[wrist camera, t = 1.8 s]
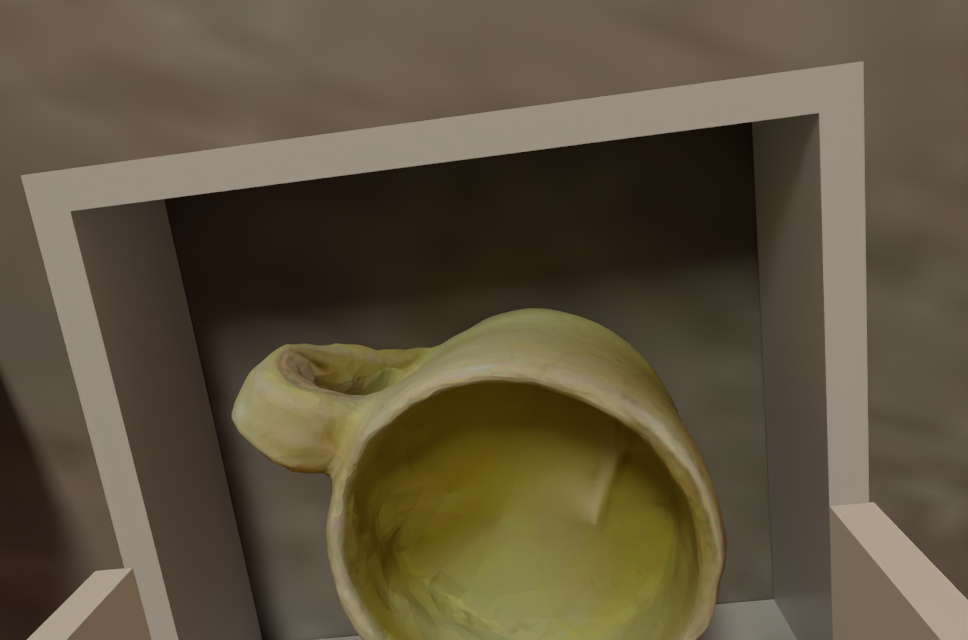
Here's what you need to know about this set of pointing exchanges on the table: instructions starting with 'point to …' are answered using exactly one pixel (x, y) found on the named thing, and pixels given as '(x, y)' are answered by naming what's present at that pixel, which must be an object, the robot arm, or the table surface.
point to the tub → (147, 182)
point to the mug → (499, 483)
